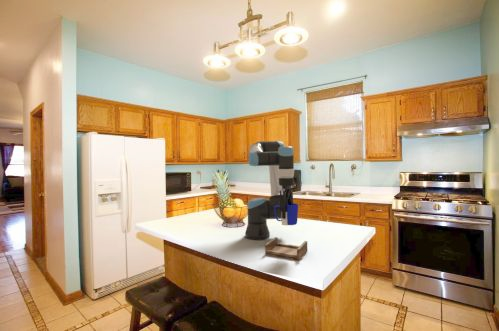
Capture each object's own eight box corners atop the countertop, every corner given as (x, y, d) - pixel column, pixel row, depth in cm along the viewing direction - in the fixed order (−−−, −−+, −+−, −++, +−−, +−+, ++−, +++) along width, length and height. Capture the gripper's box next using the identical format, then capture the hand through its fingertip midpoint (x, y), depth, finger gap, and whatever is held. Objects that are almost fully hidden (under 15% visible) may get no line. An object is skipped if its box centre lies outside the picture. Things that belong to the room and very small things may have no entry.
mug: (273, 222, 128) (273, 203, 129) (296, 222, 129) (296, 203, 129) (275, 226, 120) (275, 205, 120) (300, 226, 121) (300, 205, 121)
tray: (265, 254, 123) (265, 244, 123) (275, 246, 135) (275, 237, 135) (299, 260, 115) (299, 249, 115) (307, 251, 127) (307, 241, 127)
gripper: (287, 178, 114) (288, 228, 115) (299, 176, 132) (299, 219, 132) (271, 178, 118) (272, 227, 118) (285, 176, 135) (286, 218, 136)
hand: (287, 223), depth 125 cm, fingers closed on mug, 7 cm apart
